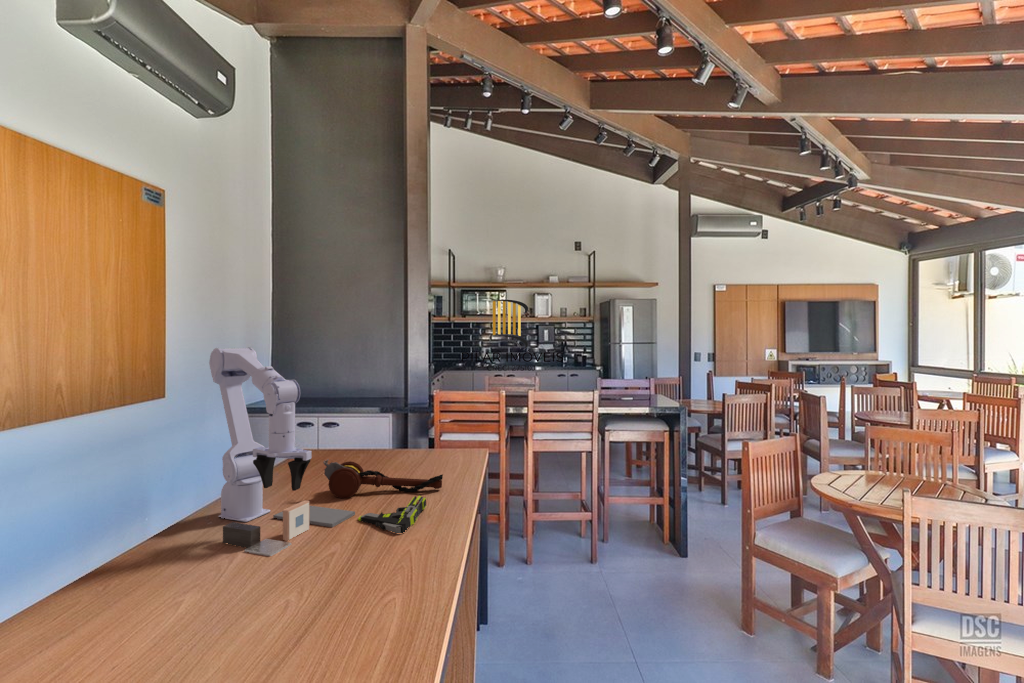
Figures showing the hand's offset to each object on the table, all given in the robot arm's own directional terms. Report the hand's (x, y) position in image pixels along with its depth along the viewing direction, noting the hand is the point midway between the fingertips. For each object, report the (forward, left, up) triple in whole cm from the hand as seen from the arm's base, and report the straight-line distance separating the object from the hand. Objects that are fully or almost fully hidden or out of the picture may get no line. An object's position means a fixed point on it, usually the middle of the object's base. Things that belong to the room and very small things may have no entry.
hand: (281, 488), depth 119 cm
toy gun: (+20, +15, -11) cm, 27 cm away
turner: (0, -9, -10) cm, 14 cm away
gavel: (+7, +33, -11) cm, 36 cm away
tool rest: (+1, +10, -10) cm, 15 cm away
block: (+5, -1, -10) cm, 11 cm away
